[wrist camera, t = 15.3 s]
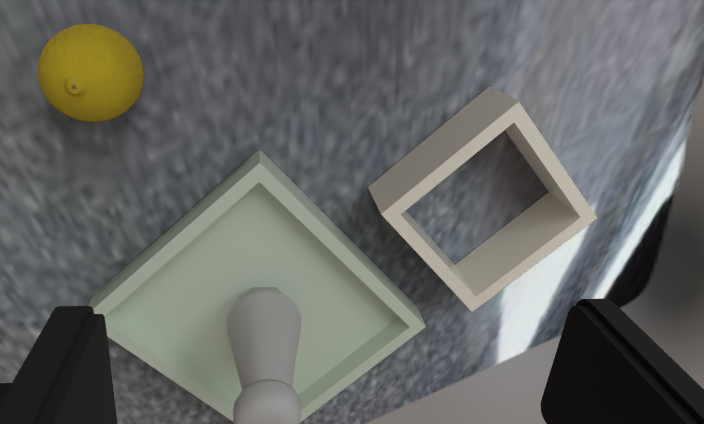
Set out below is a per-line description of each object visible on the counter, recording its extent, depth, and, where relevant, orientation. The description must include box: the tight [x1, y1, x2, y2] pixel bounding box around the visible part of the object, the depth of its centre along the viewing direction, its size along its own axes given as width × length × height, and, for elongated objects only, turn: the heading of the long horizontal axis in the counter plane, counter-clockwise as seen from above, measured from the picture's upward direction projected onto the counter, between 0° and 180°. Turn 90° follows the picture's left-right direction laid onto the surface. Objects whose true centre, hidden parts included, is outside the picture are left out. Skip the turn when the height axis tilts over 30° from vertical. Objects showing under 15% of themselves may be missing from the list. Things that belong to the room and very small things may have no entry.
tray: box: [88, 149, 426, 422], centre depth 44 cm, size 18×20×3 cm
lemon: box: [38, 24, 144, 122], centre depth 32 cm, size 6×6×8 cm
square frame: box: [368, 86, 597, 312], centre depth 42 cm, size 12×12×5 cm
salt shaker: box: [227, 287, 302, 424], centre depth 39 cm, size 6×6×13 cm
